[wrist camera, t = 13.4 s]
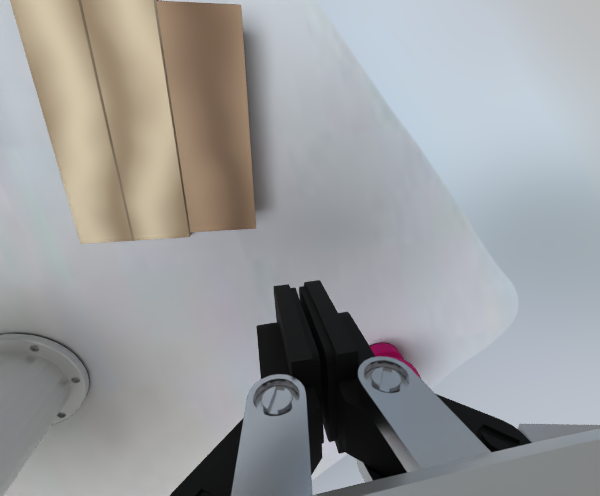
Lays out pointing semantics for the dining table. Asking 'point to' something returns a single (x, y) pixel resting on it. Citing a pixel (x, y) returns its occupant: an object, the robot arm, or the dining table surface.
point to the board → (108, 114)
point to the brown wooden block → (210, 111)
